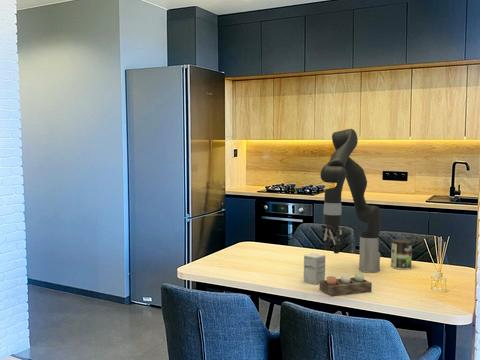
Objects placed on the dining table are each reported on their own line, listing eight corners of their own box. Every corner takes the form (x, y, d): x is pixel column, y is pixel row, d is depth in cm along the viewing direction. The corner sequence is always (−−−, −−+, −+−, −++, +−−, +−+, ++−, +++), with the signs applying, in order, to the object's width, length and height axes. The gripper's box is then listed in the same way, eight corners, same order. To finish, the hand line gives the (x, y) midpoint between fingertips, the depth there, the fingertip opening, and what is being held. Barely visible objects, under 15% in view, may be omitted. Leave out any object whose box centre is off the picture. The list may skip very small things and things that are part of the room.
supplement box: (302, 281, 223) (303, 254, 222) (312, 278, 228) (313, 252, 227) (315, 285, 217) (316, 257, 216) (325, 281, 223) (325, 255, 222)
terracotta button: (333, 283, 209) (333, 276, 208) (337, 285, 205) (338, 278, 205) (324, 284, 207) (325, 276, 207) (329, 286, 203) (329, 279, 203)
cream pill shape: (346, 281, 211) (347, 274, 211) (351, 284, 207) (352, 277, 207) (338, 282, 210) (339, 275, 209) (343, 285, 206) (344, 277, 206)
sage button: (360, 280, 213) (360, 273, 213) (365, 282, 210) (365, 275, 209) (352, 281, 212) (352, 274, 212) (357, 283, 208) (358, 276, 208)
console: (358, 285, 217) (358, 276, 216) (371, 291, 207) (371, 282, 207) (319, 289, 210) (319, 280, 210) (331, 296, 201) (331, 287, 200)
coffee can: (415, 267, 249) (416, 240, 248) (404, 270, 243) (405, 243, 242) (397, 263, 257) (398, 237, 256) (386, 266, 251) (387, 240, 250)
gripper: (349, 215, 198) (348, 254, 200) (331, 210, 212) (330, 247, 213) (333, 215, 196) (332, 255, 197) (316, 211, 209) (315, 248, 211)
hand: (331, 251), depth 205 cm, fingers open, 7 cm apart
